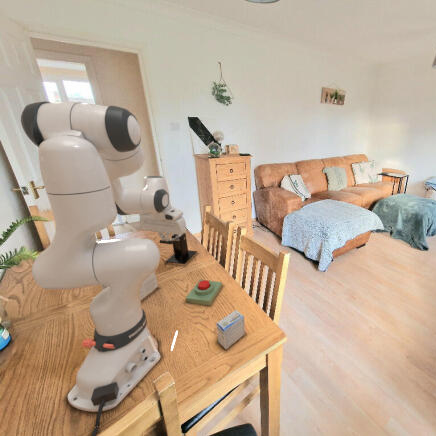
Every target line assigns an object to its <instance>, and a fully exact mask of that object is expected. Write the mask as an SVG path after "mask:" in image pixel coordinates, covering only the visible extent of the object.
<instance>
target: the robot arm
mask: <svg viewBox="0 0 436 436" xmlns="http://www.w3.org/2000/svg"><path fill="white" fill-rule="evenodd" d="M20 124H21V128H22V129H23V132H24V133H25V135H26V137H28V139H29V140H30V142H32V143H33V144H34V145H35V146H36V147H37V148H38V153H37V154H38V162H39V170H40V175H41V179H42V183H43V187H44V189H45V193H46V196H47V198H48V201H49V204H50V208H51V212H52V215H53V219H54V224H55V232H54V236H53V239H52V241H51V242H50V244H49V245H48V246H47V247H46V248H45V249H44V250H43V251H41V252H40V253H39V254H38V255H37V256H36V258H35V259H34V261H33V263H32V266H31V275H32V278H33V280H34V282H35V283H36V284H37V285H38V286H39V287H41V288H42V289H44V290H52V291H53V290H55V291H57V290H59V291H60V290H61V291H62V290H65V291H66V290H70V291H71V290H76V289H77V290H78V289H83V288H88V287H95V286H101V285H108V286H109V287H107V288H105V289H104V290H102V289H101V290H100V291H99V292H98V293H97V294H96V295H94V297H93V298H92V300H91V301H90V304H89V308H88V312H89V315H90V317H91V320H92V324H93V326H94V331H93V338H92V339H91V338H88V337H87V338H85V339H84V340H83V341H82V343H81V346H82V348H88V349H90V350H89V351H88V353H87V355H86V357H85V359H84V360H83V361H82V363H81V365H80V367H79V369H78V371H77V372H76V376H75V384H74V385H73V387H72V388H71V390H70V391H69V392H68V394H67V401H68V403H69V404H70V406H72V407H73V408H75V409H77V410H81V411H84V412H89V413H90V412H91V413H92V412H93V413H95V412H96V413H97V414H96V417H95V423H94V428H93V431H92V434H91V436H96V435H97V434H98V430H99V428H100V422H101V417H102V412H105V411H109V410H112V409H114V408H116V407H117V406H118V405H119V404H120V403H121V402H122V401H123V400H124V399H125V398H126V397H127V396H128V394H129V393H130V392H131V391H132V390H133V389H134V388H135V387H136V386H137V385H138V384H139V382H141V381H142V379H143V378H144V377H145V376H147V374H148V373H149V372H150V371H151V370H152V369H153V368H154V366H156V364H157V363H158V362H159V361H160V360H161V354H160V352H159V350H158V349H159V348H158V347H159V344H158V341H157V339H156V338H155V337H154V336H153V334H152V333H151V331H150V329H149V326H148V320H147V316H146V311H145V310H144V308H143V307H142V302H141V300H140V294H139V293H140V288H141V285H142V283H143V282H144V281H145V279H146V278H147V277H148V276H150V275H151V274H152V273H153V272H154V271H155V272H156V270H157V269H158V267H159V265H160V262H161V250H160V248H159V246H158V245H157V243H155V241H153V240H152V239H150V238H141V237H128V238H127V237H126V238H115V239H107V240H98V239H97V236H96V234H97V233H99V232H101V231H103V230H105V229H107V228H108V227H110V226H111V225H112V224H113V223H114V222H115V221H116V220H117V218H118V217H117V216H118V215H119V216H131V215H139V227H140V230H142V232H151V233H157V235H158V237H160V240H162V241H169V240H170V239H171V236H172V235H174V234H178V235H182V234H184V233H187V223H186V220H185V218H184V211H183V210H180V209H178V208H176V207H174V206H172V204H171V201H170V192H169V191H170V190H169V187H168V183H167V180H166V178H165V177H164V176H161V175H147V176H145V177H143V188H126V187H123V184H122V182H121V180H120V179H121V178H123V177H128V176H132V175H134V174H136V173H137V172H138V171H140V170H141V169H142V167H143V165H144V163H145V160H146V157H145V152H144V149H143V147H142V145H141V141H142V131H141V126H140V124H139V121H138V119H137V117H136V116H135V115H134V114H133V113H132V112H131V111H130V110H129V109H127V108H124V107H121V106H118V105H117V106H116V105H102V104H97V103H96V104H95V103H86V102H85V103H83V102H80V101H56V102H50V101H38V102H33V103H29V104H27V105H26V106H24V108H23V110H22V112H21V114H20ZM177 336H178V330H176V331H175V334H174V338H173V341H172V344H171V349H170V351H171V352H172V351H173V350H174V346H175V343H176V339H177ZM97 426H98V427H97ZM95 427H96V428H95Z"/></svg>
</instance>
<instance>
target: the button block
mask: <svg viewBox="0 0 436 436" xmlns="http://www.w3.org/2000/svg"><path fill="white" fill-rule="evenodd" d="M203 280H204V279H199V280H198V282H196V284H195V285H194V286H193V288H192V289H191V290H190V292H189V293H188V294H187V295H186V297H185V301H186V303H189V304H194V305H195V304H197V305H203V306H211V304H212V303H213V302H214V300H215V298H216V297H217V296H218V294H219V292H220V291H221V289H222V287H223V282H222V281H214V280H207V279H206V280H207V281H209V283H210V287H209V288H208V289H206V290H200V289H199V287H198V283H199V282H201V281H203Z"/></svg>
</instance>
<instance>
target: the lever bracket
mask: <svg viewBox="0 0 436 436" xmlns="http://www.w3.org/2000/svg"><path fill="white" fill-rule="evenodd" d="M177 235H178V234H171V235H170V239H173V238H175V236H177ZM171 245H172V250H173V254H172V255H171V256H170V257H169V258H167V259H166V260H165V263H171V264H179V265H185V264H186V263H188V261H190V259H191V258H192V257H194V255H196V254H197V252H198V251H197V250H189V248H188V240H187V232H185V233H184V234H182V235H181V236H180V237H179V241H173V243H172V244H171Z"/></svg>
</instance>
